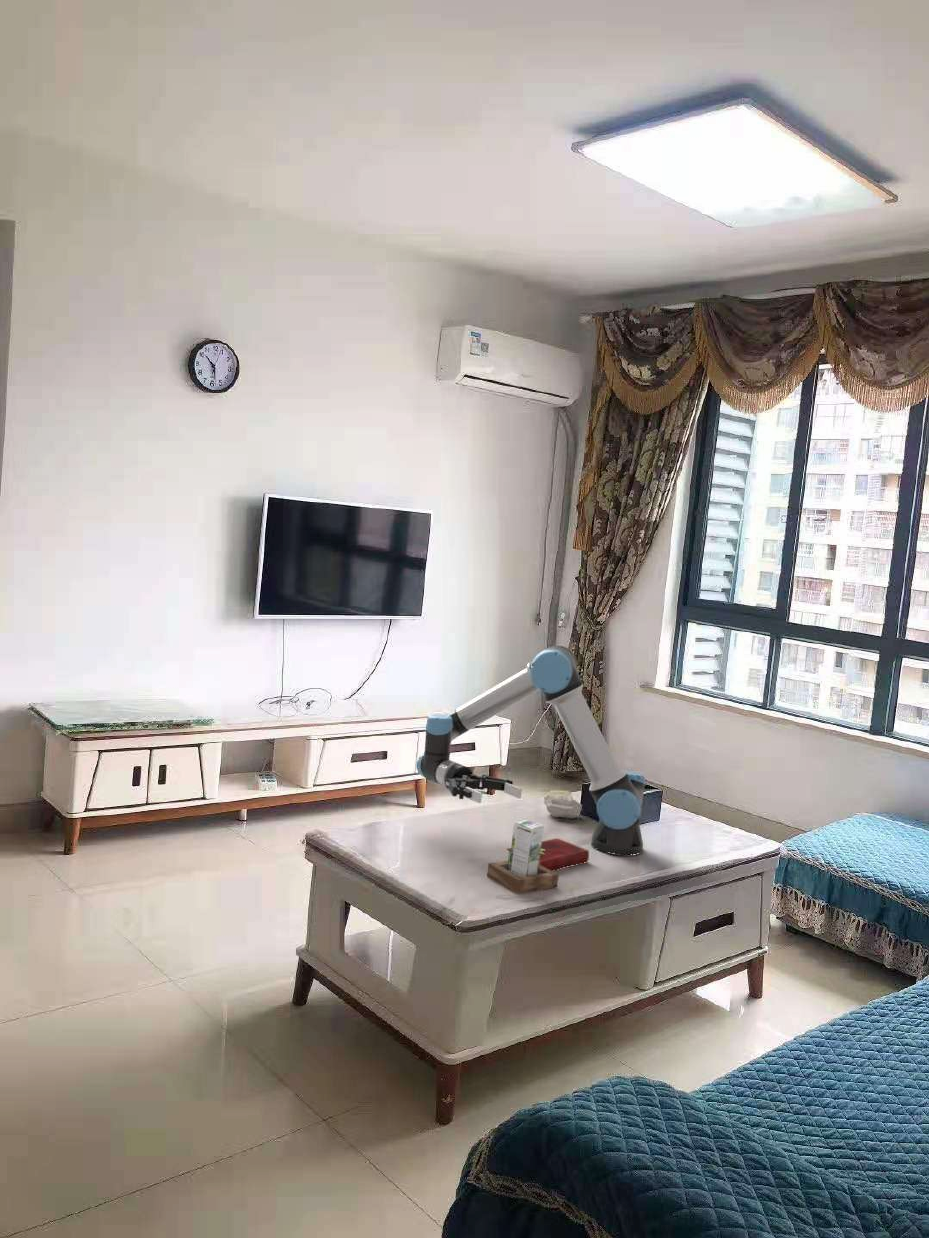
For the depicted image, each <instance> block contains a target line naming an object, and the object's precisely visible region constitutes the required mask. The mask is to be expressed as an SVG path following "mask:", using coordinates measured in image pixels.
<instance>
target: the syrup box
mask: <svg viewBox="0 0 929 1238" xmlns="http://www.w3.org/2000/svg"><path fill="white" fill-rule="evenodd" d="M544 828H545V827H544V825H543V824H541V823H539V822H536V821H534V820H530V819H524V820H521V821H518V822H515V823H514V824H513V830H512V838H511V839H512V840H511V847H510V848H511V852H510V860H509V868H508V870H509V871H511V872H513V873H514V874H516V875H518V876H520V877H523V876H530V875H536V874H538V866H539V859H540V852H541V844H542V841H543V835H544Z"/></svg>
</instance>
